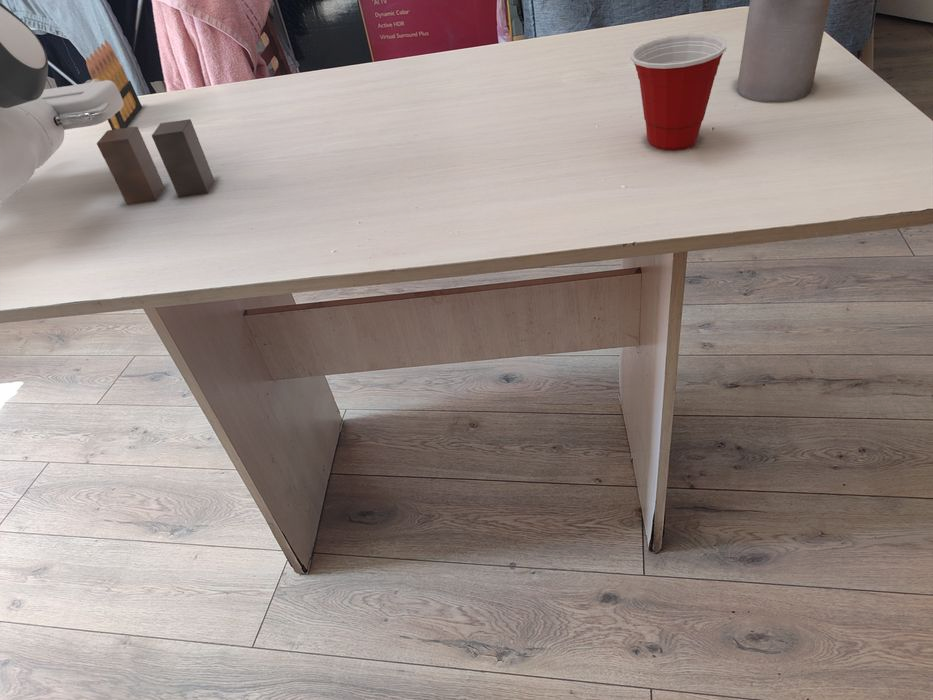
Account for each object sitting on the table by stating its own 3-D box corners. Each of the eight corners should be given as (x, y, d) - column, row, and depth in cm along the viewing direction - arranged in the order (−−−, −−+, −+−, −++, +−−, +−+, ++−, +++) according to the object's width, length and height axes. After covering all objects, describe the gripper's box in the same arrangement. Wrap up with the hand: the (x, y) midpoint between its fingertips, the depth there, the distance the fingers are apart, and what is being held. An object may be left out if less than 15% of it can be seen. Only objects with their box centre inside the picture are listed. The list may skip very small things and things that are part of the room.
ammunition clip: (125, 133, 111) (90, 58, 104) (113, 135, 111) (78, 60, 104) (143, 109, 119) (112, 37, 112) (133, 110, 120) (101, 39, 112)
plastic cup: (640, 122, 92) (645, 28, 84) (723, 129, 87) (737, 31, 79) (614, 157, 85) (617, 58, 77) (703, 167, 80) (715, 63, 72)
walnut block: (128, 207, 90) (96, 143, 84) (137, 193, 93) (107, 130, 87) (157, 203, 90) (127, 138, 84) (165, 189, 93) (137, 126, 87)
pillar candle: (775, 72, 99) (796, -44, 90) (827, 91, 92) (856, -32, 82) (721, 88, 97) (736, -28, 87) (770, 109, 90) (793, -15, 80)
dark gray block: (179, 200, 90) (151, 135, 84) (187, 186, 93) (160, 123, 87) (208, 196, 90) (182, 131, 84) (215, 182, 93) (190, 118, 87)
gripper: (89, 91, 84) (124, 56, 95) (-70, 114, 85) (-17, 77, 95) (112, 139, 88) (144, 100, 99) (-40, 161, 89) (8, 120, 99)
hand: (64, 89), depth 97 cm, fingers open, 8 cm apart
